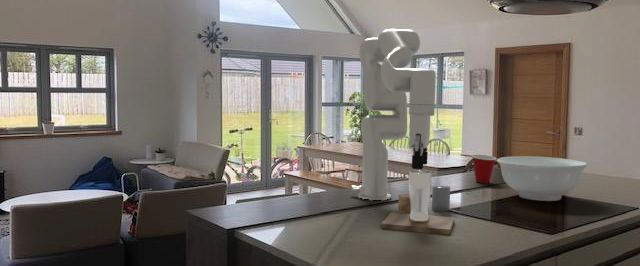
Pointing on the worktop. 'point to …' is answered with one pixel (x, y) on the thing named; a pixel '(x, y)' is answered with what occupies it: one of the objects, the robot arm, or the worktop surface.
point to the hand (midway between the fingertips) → (419, 166)
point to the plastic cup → (483, 167)
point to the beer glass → (419, 194)
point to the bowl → (541, 176)
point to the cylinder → (440, 198)
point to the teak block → (404, 204)
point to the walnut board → (418, 224)
